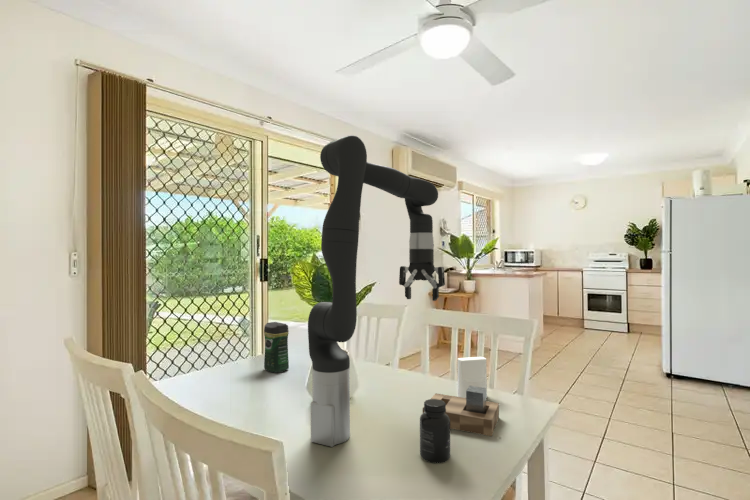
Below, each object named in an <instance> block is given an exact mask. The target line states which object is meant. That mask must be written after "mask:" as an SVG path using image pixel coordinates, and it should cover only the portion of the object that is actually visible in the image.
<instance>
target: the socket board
mask: <svg viewBox="0 0 750 500" xmlns="http://www.w3.org/2000/svg"><path fill="white" fill-rule="evenodd" d="M430 399H438V400H442V401H444V402H445V403H446V412H445V413H446V414H447V415H448V416H449V418H450V430H456V431H462V432H468V433H472V434H476V435H477V434H478V435H483V436H487V437H492V436H493V434H494V432H495V429H496V426H497V423H498V422H499V418H500V404H499V402H492V401H487V400H486V414H481V413H475V412H469V411H466V398H462V397H458V396H455V395H449V394H443V393H442V394H441V393H434V394H433V395H432V396H431V398H430ZM422 413H424V406H423V407H422ZM497 421H498V422H497Z"/></svg>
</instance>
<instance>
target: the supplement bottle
mask: <svg viewBox="0 0 750 500" xmlns="http://www.w3.org/2000/svg"><path fill="white" fill-rule="evenodd" d="M423 407H424V413H423V412H422V413H421V415H420V416H419V455H420V457H421V459H422V460H423V461H426V462H427V463H432V464H443V463H445V462H447V461H449V459H450V458H451V428H450V418H449V416H448V415H447V414H446V413H445V412H446V403H445V402H444V401H442V400H438V399H431V398H430V399H425V401H423Z"/></svg>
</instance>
